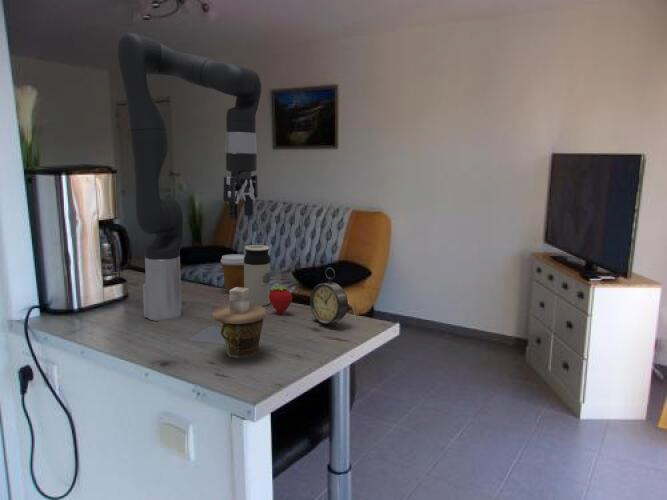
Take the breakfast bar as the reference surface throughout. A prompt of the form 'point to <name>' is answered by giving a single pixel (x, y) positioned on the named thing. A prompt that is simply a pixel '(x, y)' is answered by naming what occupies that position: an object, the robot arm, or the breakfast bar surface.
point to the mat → (209, 336)
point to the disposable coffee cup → (233, 271)
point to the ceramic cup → (242, 338)
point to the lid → (239, 309)
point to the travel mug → (257, 274)
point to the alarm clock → (328, 302)
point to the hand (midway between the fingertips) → (241, 217)
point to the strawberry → (280, 299)
